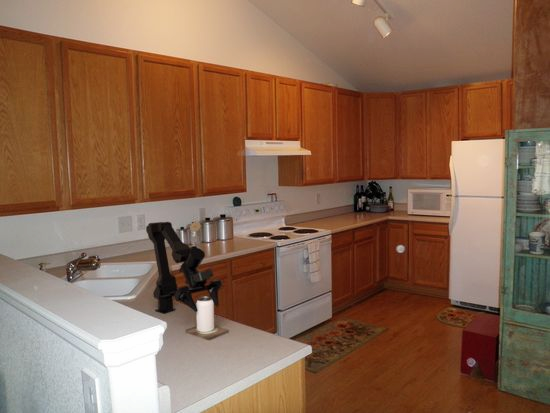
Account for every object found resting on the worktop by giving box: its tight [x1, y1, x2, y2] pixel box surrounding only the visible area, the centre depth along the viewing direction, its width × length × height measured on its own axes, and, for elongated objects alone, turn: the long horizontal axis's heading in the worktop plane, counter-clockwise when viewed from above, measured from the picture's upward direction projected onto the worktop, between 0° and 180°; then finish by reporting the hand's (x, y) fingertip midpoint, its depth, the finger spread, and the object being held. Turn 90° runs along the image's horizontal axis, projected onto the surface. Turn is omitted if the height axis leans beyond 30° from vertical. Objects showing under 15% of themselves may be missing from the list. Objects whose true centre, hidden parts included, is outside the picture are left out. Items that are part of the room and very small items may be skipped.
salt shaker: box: [195, 240, 202, 250], centre depth 301 cm, size 6×6×13 cm
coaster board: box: [185, 324, 230, 341], centre depth 168 cm, size 13×10×1 cm
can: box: [195, 296, 215, 332], centre depth 167 cm, size 6×6×12 cm
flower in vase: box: [189, 220, 202, 246], centre depth 316 cm, size 13×11×25 cm
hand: (207, 308), depth 167 cm, fingers open, 9 cm apart
